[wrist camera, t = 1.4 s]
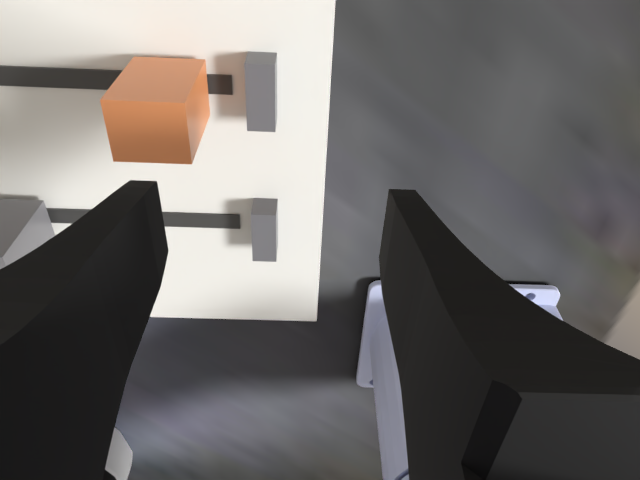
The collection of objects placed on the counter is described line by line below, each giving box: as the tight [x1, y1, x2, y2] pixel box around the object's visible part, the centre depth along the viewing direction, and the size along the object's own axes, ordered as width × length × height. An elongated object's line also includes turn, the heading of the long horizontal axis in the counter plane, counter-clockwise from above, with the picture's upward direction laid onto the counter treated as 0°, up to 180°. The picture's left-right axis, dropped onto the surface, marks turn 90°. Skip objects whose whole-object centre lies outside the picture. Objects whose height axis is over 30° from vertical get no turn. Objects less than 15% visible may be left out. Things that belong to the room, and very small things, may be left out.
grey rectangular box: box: [0, 199, 55, 269], centre depth 21 cm, size 2×2×4 cm
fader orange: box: [100, 56, 210, 164], centre depth 17 cm, size 2×2×4 cm
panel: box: [0, 0, 335, 321], centre depth 21 cm, size 19×18×2 cm
